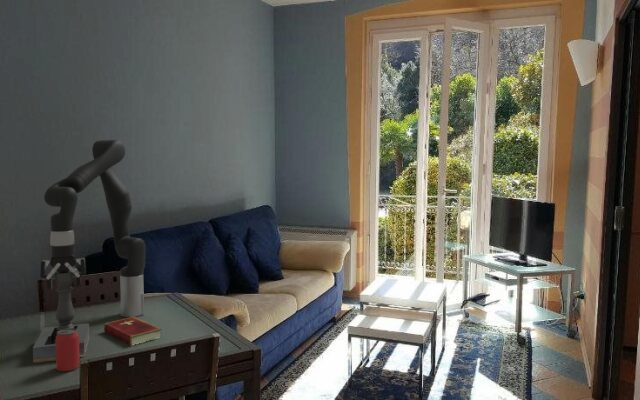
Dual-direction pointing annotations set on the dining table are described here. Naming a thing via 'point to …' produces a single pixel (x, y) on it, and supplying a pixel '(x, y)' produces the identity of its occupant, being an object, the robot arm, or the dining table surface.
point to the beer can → (67, 350)
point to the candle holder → (64, 300)
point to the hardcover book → (132, 330)
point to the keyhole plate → (47, 343)
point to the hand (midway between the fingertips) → (64, 288)
